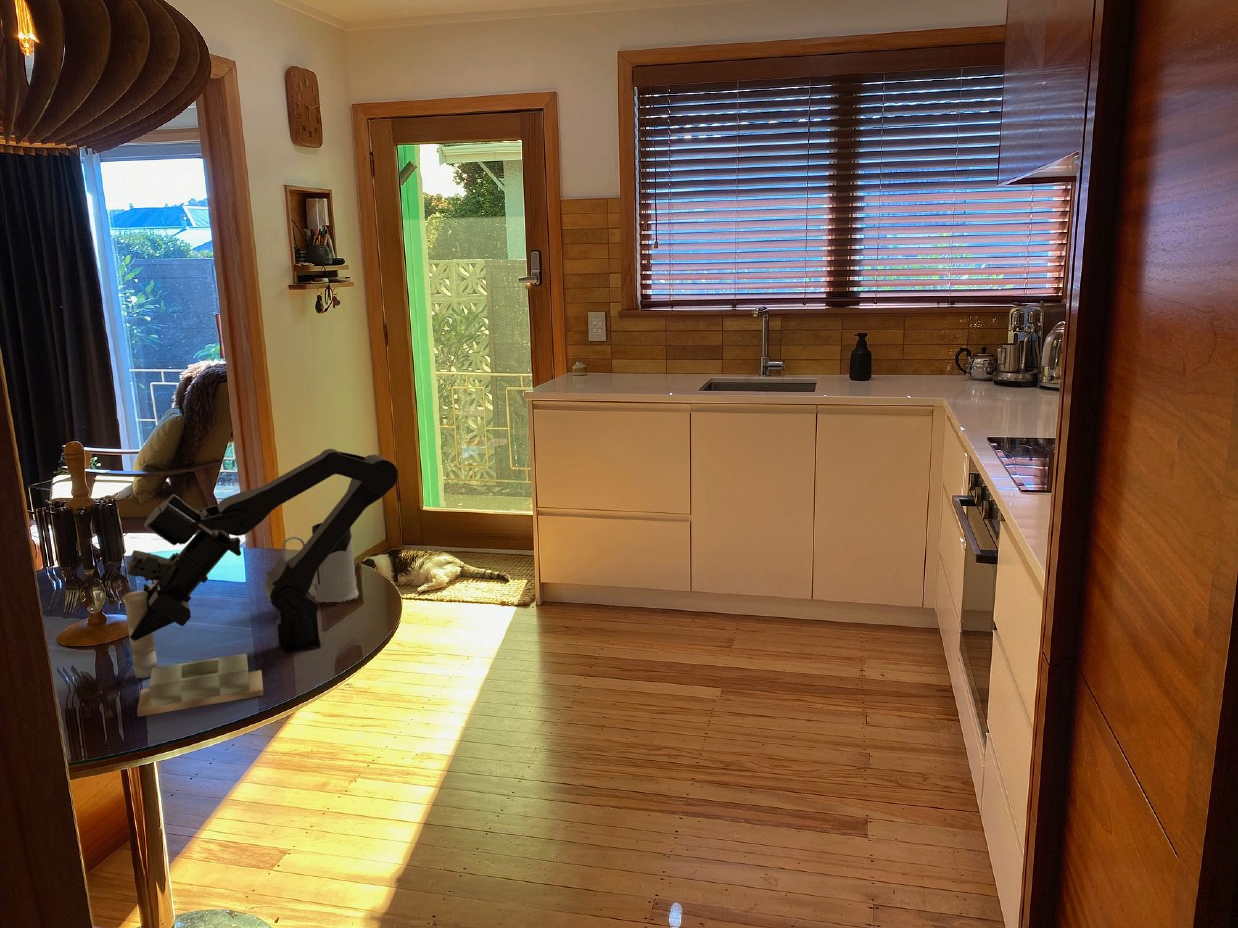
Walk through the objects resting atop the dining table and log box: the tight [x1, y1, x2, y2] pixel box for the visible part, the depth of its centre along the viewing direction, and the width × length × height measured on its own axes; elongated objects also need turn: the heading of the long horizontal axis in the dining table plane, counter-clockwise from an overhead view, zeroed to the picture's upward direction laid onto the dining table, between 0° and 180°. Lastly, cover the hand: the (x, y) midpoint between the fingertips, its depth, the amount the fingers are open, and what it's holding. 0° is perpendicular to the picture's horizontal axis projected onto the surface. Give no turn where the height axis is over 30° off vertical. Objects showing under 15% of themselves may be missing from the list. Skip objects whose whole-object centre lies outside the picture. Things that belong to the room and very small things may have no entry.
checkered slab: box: [136, 653, 264, 717], centre depth 150 cm, size 18×8×4 cm, turn 112°
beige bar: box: [123, 590, 158, 679], centre depth 157 cm, size 4×4×14 cm
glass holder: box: [281, 522, 360, 604], centre depth 193 cm, size 9×14×15 cm, turn 116°
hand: (131, 635), depth 156 cm, fingers closed on beige bar, 3 cm apart
